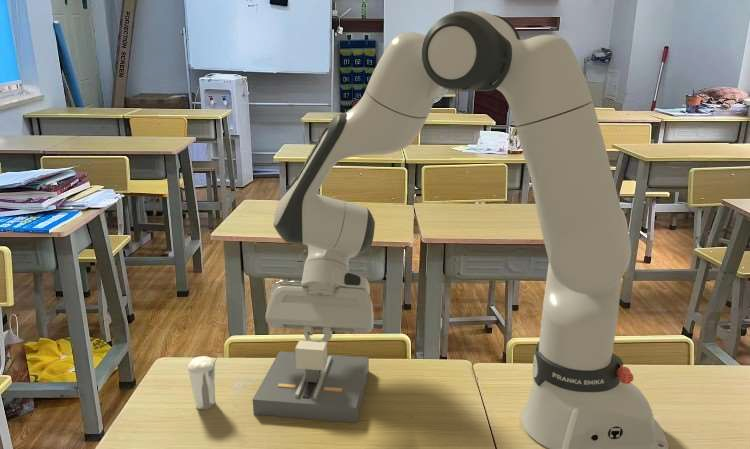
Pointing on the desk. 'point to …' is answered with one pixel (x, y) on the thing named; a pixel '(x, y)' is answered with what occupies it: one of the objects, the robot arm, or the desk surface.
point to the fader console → (313, 389)
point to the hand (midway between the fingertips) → (314, 353)
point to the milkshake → (203, 381)
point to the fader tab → (311, 358)
